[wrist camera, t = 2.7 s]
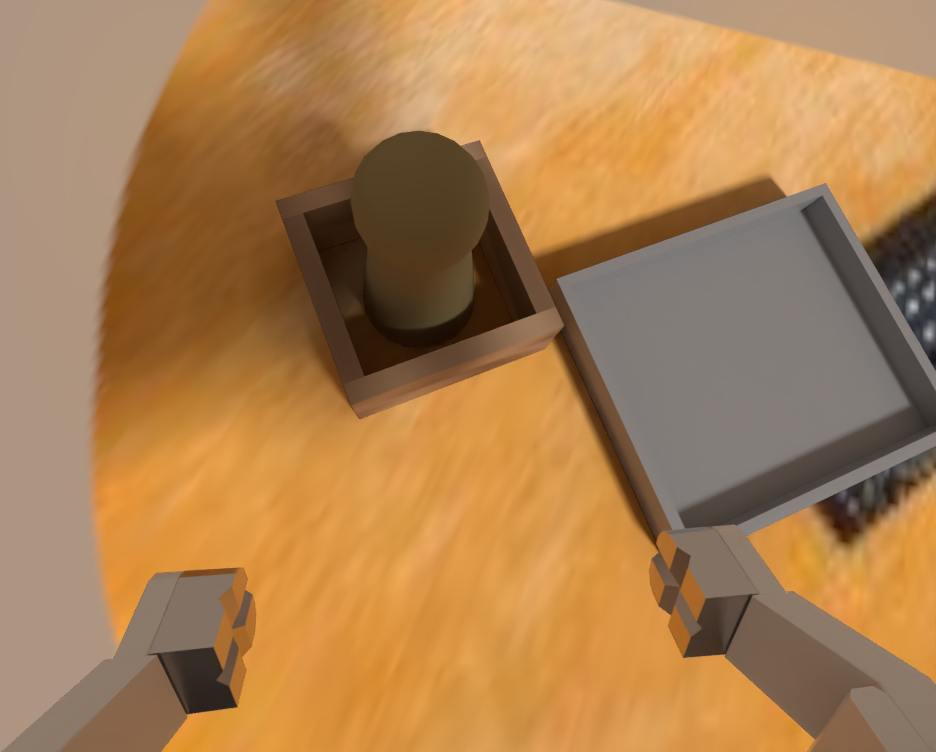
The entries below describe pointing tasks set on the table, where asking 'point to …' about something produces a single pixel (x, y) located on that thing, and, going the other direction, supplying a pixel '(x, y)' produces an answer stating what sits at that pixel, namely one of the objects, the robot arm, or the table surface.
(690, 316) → the tray
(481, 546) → the table surface
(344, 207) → the holder
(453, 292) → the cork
